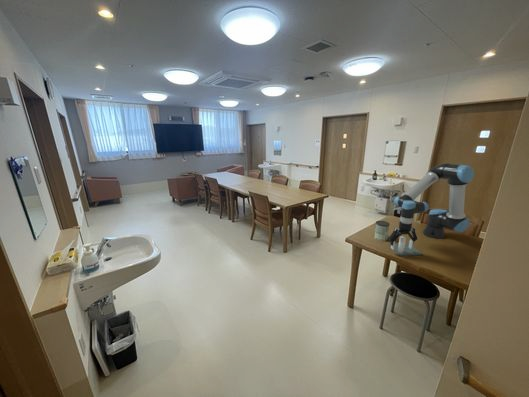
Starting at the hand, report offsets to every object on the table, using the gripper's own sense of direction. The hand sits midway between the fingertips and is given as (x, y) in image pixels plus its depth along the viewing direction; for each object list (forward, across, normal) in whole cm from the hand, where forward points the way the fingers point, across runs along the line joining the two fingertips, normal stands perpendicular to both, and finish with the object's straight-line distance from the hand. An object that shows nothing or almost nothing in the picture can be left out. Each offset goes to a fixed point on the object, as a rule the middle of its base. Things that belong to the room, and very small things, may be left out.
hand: (401, 248), depth 158 cm
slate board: (+4, -6, -4) cm, 8 cm away
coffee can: (+4, +1, -25) cm, 25 cm away
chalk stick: (+3, 0, 0) cm, 3 cm away
